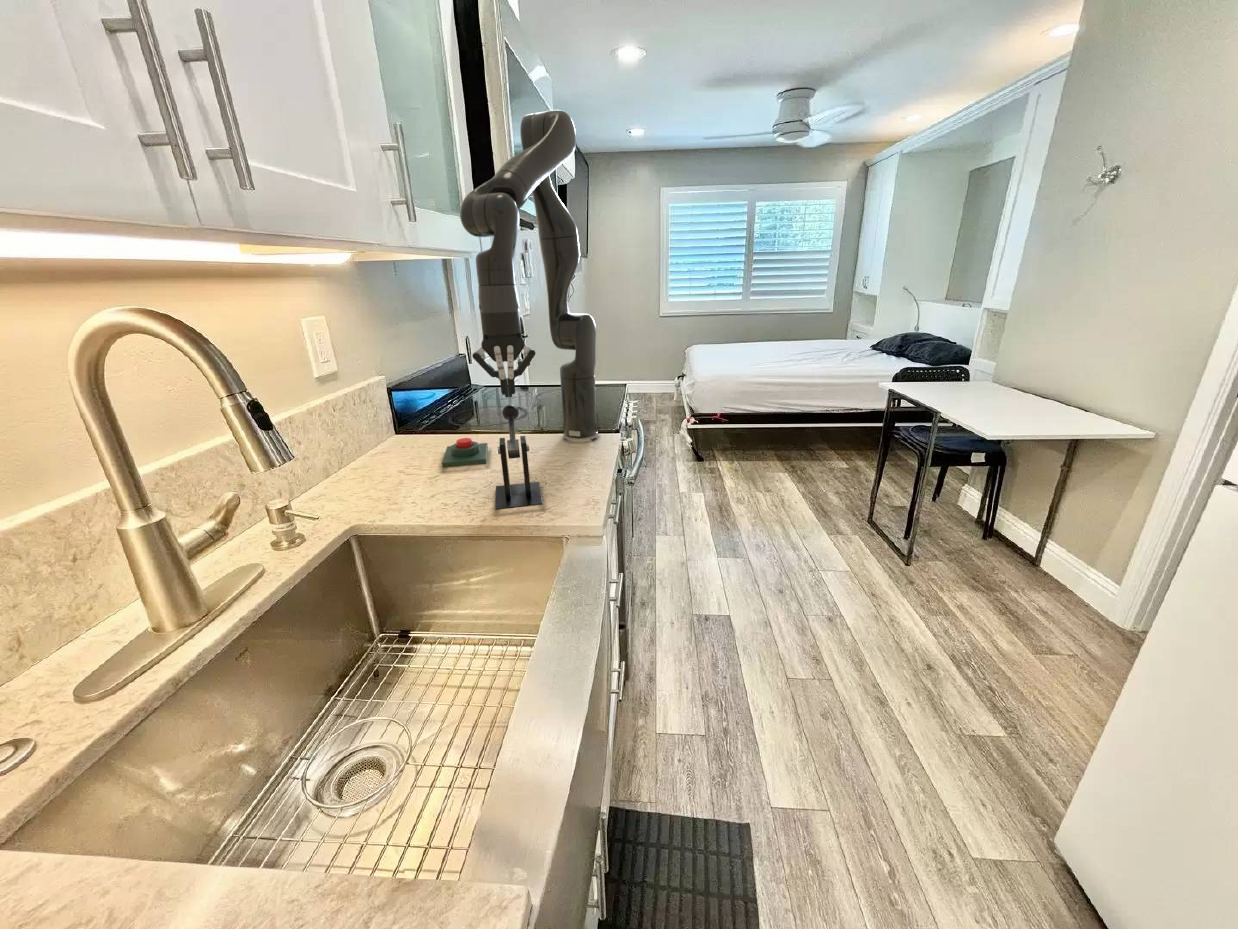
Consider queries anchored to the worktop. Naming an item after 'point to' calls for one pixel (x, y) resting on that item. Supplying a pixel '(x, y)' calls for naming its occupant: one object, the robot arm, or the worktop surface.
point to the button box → (465, 455)
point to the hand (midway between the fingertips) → (508, 396)
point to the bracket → (516, 492)
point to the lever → (512, 431)
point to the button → (464, 443)
